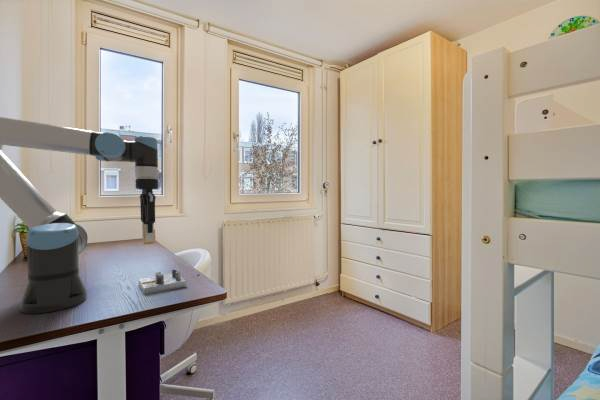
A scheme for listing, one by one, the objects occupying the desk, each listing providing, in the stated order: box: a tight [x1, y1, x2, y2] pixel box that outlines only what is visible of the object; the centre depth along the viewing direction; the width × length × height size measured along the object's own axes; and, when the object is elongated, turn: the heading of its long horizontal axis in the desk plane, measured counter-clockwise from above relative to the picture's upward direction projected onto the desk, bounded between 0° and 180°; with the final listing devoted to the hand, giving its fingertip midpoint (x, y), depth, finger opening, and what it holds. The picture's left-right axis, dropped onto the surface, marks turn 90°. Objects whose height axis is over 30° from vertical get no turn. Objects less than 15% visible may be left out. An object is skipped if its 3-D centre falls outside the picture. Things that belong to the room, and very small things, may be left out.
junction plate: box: [138, 268, 187, 295], centre depth 103 cm, size 13×12×4 cm
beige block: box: [142, 225, 157, 245], centre depth 111 cm, size 4×4×7 cm
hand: (148, 240), depth 111 cm, fingers closed on beige block, 4 cm apart
